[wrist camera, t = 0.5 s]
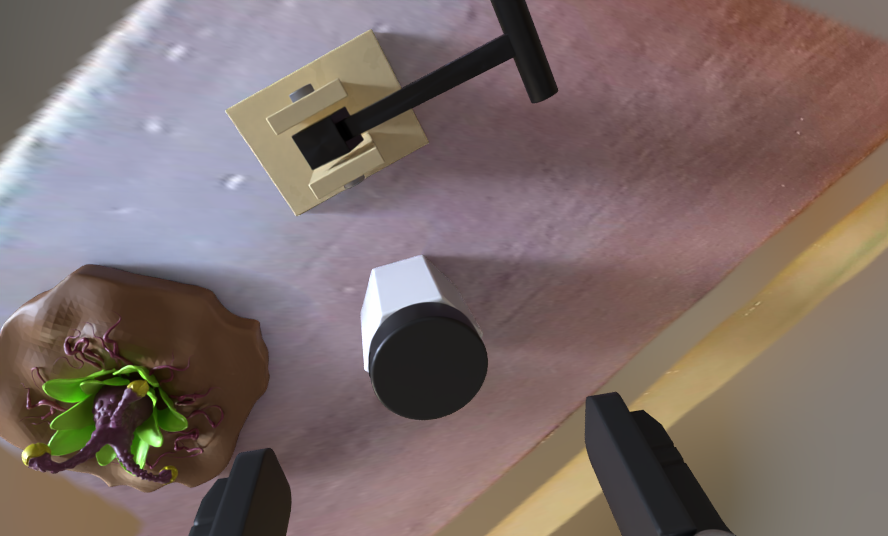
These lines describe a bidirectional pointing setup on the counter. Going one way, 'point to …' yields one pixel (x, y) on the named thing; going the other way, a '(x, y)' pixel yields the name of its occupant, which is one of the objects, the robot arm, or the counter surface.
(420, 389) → the jar
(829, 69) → the counter surface
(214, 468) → the plant
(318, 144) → the lever
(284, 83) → the bracket
